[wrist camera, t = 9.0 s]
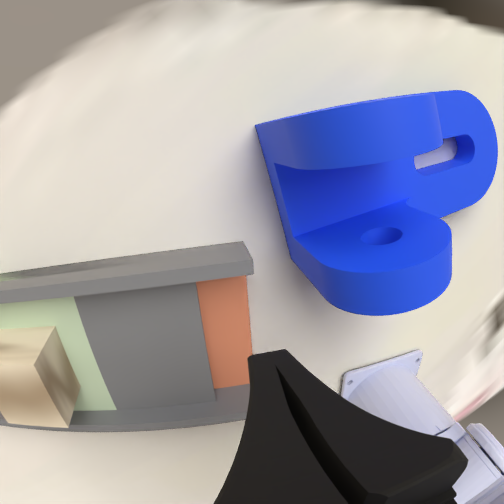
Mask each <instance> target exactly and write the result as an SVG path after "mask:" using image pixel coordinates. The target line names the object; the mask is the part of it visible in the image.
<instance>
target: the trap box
mask: <svg viewBox="0 0 504 504" xmlns="http://www.w3.org/2000/svg"><path fill="white" fill-rule="evenodd" d="M251 274H254V270H253V259H252V257H251V255H250V254H249V252H248V250H247V248H246V246H245V244H244V243H243V241H242V242H234V243H226V244H218V245H210V246H202V247H194V248H186V249H178V250H170V251H163V252H155V253H147V254H140V255H132V256H124V257H117V258H109V259H102V260H95V261H87V262H80V263H73V264H65V265H58V266H51V267H44V268H37V269H30V270H23V271H16V272H9V273H2V274H0V329H12V328H29V327H45V326H56V329H57V332H58V334H59V337H60V339H61V342H62V344H63V347H64V349H65V352H66V354H67V357H68V359H69V361H70V364H71V366H72V368H73V370H74V373H75V375H76V377H77V379H78V381H79V384H80V386H81V387H80V390H79V394H78V397H77V400H76V403H75V407H74V410H73V414H72V417H71V421H70V424H69V428H59V427H43V426H30V425H20V424H11V423H8V422H7V421H6V419H5V418H4V416H3V415H2V413H1V412H0V425H2V426H9V427H18V428H27V429H38V430H52V431H71V432H130V431H150V430H165V429H177V428H187V427H196V426H205V425H212V424H220V423H227V422H233V421H239V420H245V419H246V416H247V410H248V404H249V396H250V381H249V371H248V360H247V358H248V357H249V356H250V355H252V344H251V332H250V320H249V307H248V295H247V282H246V275H251Z"/></svg>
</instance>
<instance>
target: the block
mask: <svg viewBox="0 0 504 504" xmlns="http://www.w3.org/2000/svg"><path fill="white" fill-rule="evenodd" d="M80 387H81V386H80V384H79V381H78V379H77V377H76V375H75V373H74V370H73V368H72V366H71V364H70V361H69V359H68V357H67V354H66V352H65V349H64V347H63V344H62V342H61V339H60V337H59V334H58V332H57V329H56V326H45V327H29V328H12V329H0V412H1V413H2V415H3V416H4V418H5V419H6V421H7V422H8V423H11V424H20V425H30V426H43V427H59V428H69V424H70V421H71V417H72V414H73V410H74V407H75V403H76V400H77V397H78V394H79V390H80Z"/></svg>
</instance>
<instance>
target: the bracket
mask: <svg viewBox="0 0 504 504" xmlns="http://www.w3.org/2000/svg"><path fill="white" fill-rule="evenodd" d="M255 127H256V130H257V134H258V137H259V141H260V144H261V148H262V151H263V155H264V158H265V162H266V166H267V169H268V173H269V176H270V180H271V184H272V187H273V191H274V195H275V199H276V202H277V206H278V210H279V214H280V218H281V221H282V225H283V229H284V233H285V237H286V241H287V245H288V249H289V252H290V256H291V259H292V260H293V262H294V263H295V264H296V265H297V266H298V267H299V269H300V270H301V271H302V272H303V273H304V274H305V276H306V277H307V278H308V279H309V280H310V281H311V283H312V284H313V285H314V286H315V287H316V289H317V290H318V291H319V292H320V293H321V294H322V296H323V297H324V298H325V299H326V300H327V301H328V302H329V303H331V304H332V305H334V306H335V307H337V308H339V309H342V310H344V311H347V312H351V313H355V314H361V315H372V316H383V315H393V314H399V313H404V312H408V311H411V310H414V309H417V308H420V307H422V306H424V305H426V304H428V303H430V302H432V301H433V300H435V299H436V298H437V297H439V296H440V295H441V294H442V293H443V292H444V291H445V289H446V288H447V287H448V285H449V283H450V280H451V275H452V234H451V230H450V227H449V226H448V225H447V224H446V223H445V222H444V221H443V220H442V219H440V218H441V217H444V216H446V215H448V214H451V213H453V212H456V211H458V210H461V209H463V208H466V207H468V206H470V205H473V204H474V203H476V202H477V201H479V200H480V199H481V198H482V197H483V196H484V194H485V193H486V192H487V190H488V188H489V187H490V185H491V183H492V180H493V177H494V174H495V170H496V166H497V157H498V146H497V137H496V132H495V128H494V125H493V122H492V119H491V117H490V115H489V113H488V111H487V110H486V108H485V107H484V105H483V104H482V103H481V102H480V101H479V100H478V99H477V98H476V97H475V96H473V95H472V94H470V93H468V92H465V91H461V90H453V91H439V92H429V93H420V94H411V95H403V96H395V97H388V98H382V99H375V100H369V101H363V102H357V103H351V104H346V105H340V106H335V107H330V108H325V109H320V110H316V111H311V112H306V113H302V114H298V115H293V116H289V117H285V118H281V119H277V120H273V121H269V122H265V123H261V124H257V125H255ZM450 137H455V139H456V142H457V153H456V155H455V157H454V158H453V159H452V160H449V161H446V162H442V163H438V164H435V165H431V166H428V167H424V168H421V169H417V170H416V168H415V165H414V156H416V155H420V154H423V153H426V152H429V151H432V150H435V149H437V148H439V147H440V146H442V144H443V139H445V138H450Z"/></svg>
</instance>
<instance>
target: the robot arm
mask: <svg viewBox="0 0 504 504" xmlns="http://www.w3.org/2000/svg"><path fill="white" fill-rule="evenodd" d="M422 355H423V353H422V351H421V350H416V351H413V352H410V353H408V354H405V355H402V356H398V357H395V358H392V359H389V360H386V361H383V362H380V363H376V364H373V365H370V366H366V367H363V368H359V369H356V370H352V371H349V372H347V373H345V375H344V377H343V383H342V390H341V396H340V395H339V394H337V393H336V392H335V391H333V390H332V389H330V388H329V387H328V386H326V385H325V384H324V383H323V382H321V381H320V380H319V379H318V378H317V377H315V376H314V375H313V374H312V373H311V372H309V371H308V370H307V369H306V368H305V367H304V366H303V365H302V364H301V363H300V362H298V361H297V360H296V359H295V358H294V357H293V356H292V355H291V354H290V353H289V352H288V351H287V350H286V349H283V350H278V351H272V352H267V353H261V354H255V355H250V356H249V357H248V358H247V360H248V371H249V381H250V396H249V404H248V410H247V416H246V421H245V426H244V430H243V434H242V437H241V441H240V444H239V447H238V450H237V453H236V456H235V459H234V462H233V464H232V467H231V469H230V471H229V474H228V476H227V478H226V480H225V483H224V485H223V487H222V489H221V491H220V493H219V495H218V497H217V498H216V500H215V502H214V504H504V448H503V446H502V445H501V444H500V443H499V442H498V441H497V439H496V438H495V437H494V436H493V435H492V434H491V433H490V432H489V431H488V430H487V429H486V428H485V427H484V426H483V425H482V424H481V423H477V424H473V423H471V424H469V425H468V426H467V430H468V431H469V432H470V433H471V434H472V436H473V438H474V440H475V441H476V442H477V443H478V444H479V445H480V447H479V446H478V445H477V444H476V443H475V442H474V440H473V439H472V438H471V437H470V436H469V435H468V433H467V432H466V431H465V430H464V429H463V428H462V426H461V425H460V424H459V423H458V422H456V421H455V420H454V419H453V418H452V417H451V415H450V414H449V413H448V412H447V411H446V410H445V408H444V407H443V406H442V405H441V404H440V403H439V402H438V400H437V399H436V398H435V397H434V396H433V395H432V394H431V392H430V391H429V390H428V389H427V388H426V387H425V386H424V385H423V383H422V382H421V381H420V380H419V379H418V378H417V377H416V376H417V372H418V369H419V366H420V362H421V359H422ZM348 381H349V382H348ZM495 466H497V467H498V468H499V469H500V471H501V473H500V472H499V470H498V469H497V468H496V467H495Z"/></svg>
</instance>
